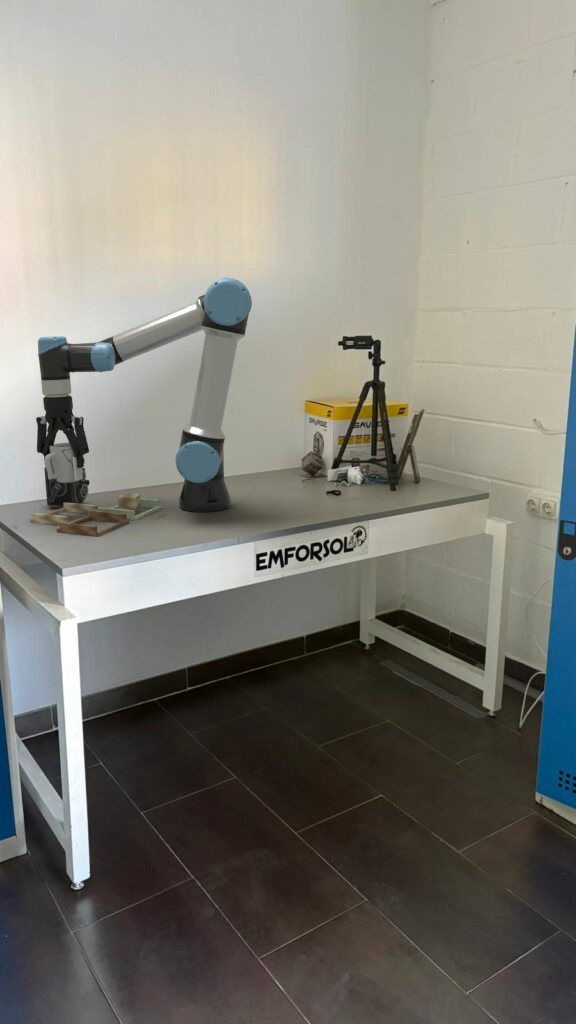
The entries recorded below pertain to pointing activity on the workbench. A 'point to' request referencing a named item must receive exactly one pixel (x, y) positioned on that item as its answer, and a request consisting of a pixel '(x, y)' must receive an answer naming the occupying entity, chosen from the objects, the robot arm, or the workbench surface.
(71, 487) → the camera
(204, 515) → the workbench surface
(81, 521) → the walnut rim
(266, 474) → the workbench surface
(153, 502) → the sage rim
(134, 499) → the birch cube
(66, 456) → the mug
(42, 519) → the birch rim
